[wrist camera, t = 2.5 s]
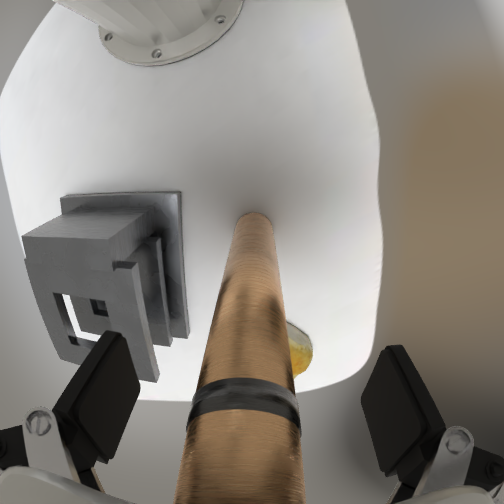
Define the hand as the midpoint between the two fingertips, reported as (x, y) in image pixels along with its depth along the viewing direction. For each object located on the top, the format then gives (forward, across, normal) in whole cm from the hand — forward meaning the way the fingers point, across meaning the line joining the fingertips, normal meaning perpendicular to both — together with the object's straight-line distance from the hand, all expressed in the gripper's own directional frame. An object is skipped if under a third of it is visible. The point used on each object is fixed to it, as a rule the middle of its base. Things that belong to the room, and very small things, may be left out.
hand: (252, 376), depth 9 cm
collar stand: (+15, +12, +3) cm, 19 cm away
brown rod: (+15, 0, -1) cm, 15 cm away
